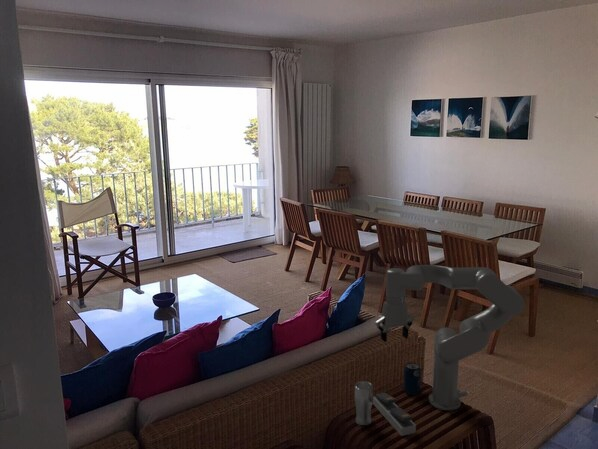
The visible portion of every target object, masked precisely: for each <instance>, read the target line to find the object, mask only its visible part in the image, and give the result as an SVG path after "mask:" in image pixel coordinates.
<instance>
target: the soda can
mask: <svg viewBox="0 0 598 449" xmlns="http://www.w3.org/2000/svg"><path fill="white" fill-rule="evenodd" d="M421 376H422V370H421V368H420V364H418V363H417V362H407V363H406V364H405V366H404V368H403V390H404V392H405V393H406V394H408V395H409V396H416V395H418V394H419V393H420V391H421V382H422V379H421Z"/></svg>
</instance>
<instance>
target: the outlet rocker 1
mask: <svg viewBox="0 0 598 449" xmlns="http://www.w3.org/2000/svg"><path fill="white" fill-rule="evenodd" d="M375 396H376V398H378V399H380V400H382V401H383V402H385V403H387V404H390V403H395V404H396V403H397V400H398V399H397V398H395V397H394V396H392V395H390V394H388V393H386V392H381V393H376V394H375Z"/></svg>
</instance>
